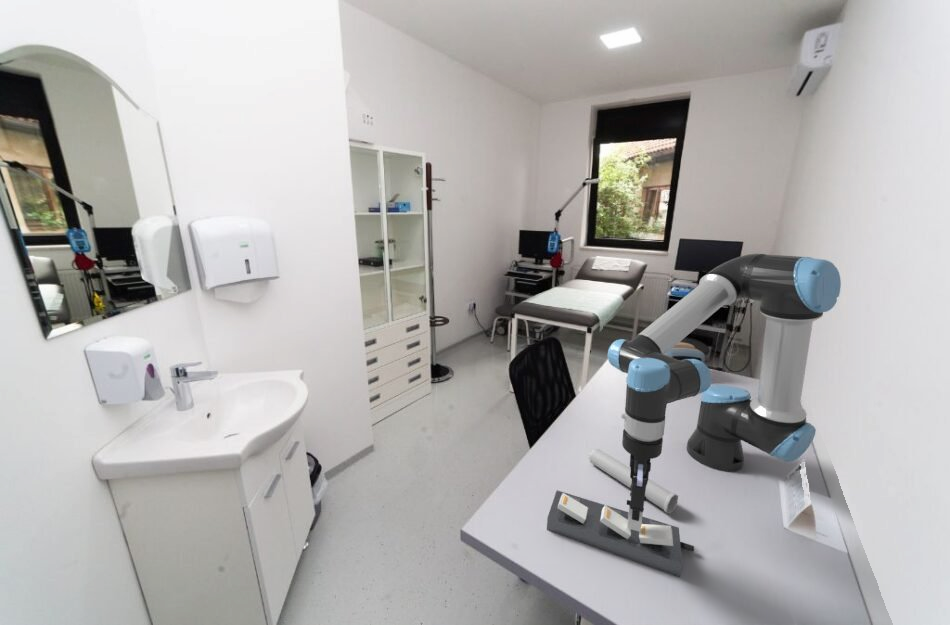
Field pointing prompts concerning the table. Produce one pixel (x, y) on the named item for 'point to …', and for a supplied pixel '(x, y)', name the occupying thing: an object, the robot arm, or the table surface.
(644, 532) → the block
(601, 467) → the tube
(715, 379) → the table surface
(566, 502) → the block
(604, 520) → the block
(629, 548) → the power strip
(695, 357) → the alarm clock
